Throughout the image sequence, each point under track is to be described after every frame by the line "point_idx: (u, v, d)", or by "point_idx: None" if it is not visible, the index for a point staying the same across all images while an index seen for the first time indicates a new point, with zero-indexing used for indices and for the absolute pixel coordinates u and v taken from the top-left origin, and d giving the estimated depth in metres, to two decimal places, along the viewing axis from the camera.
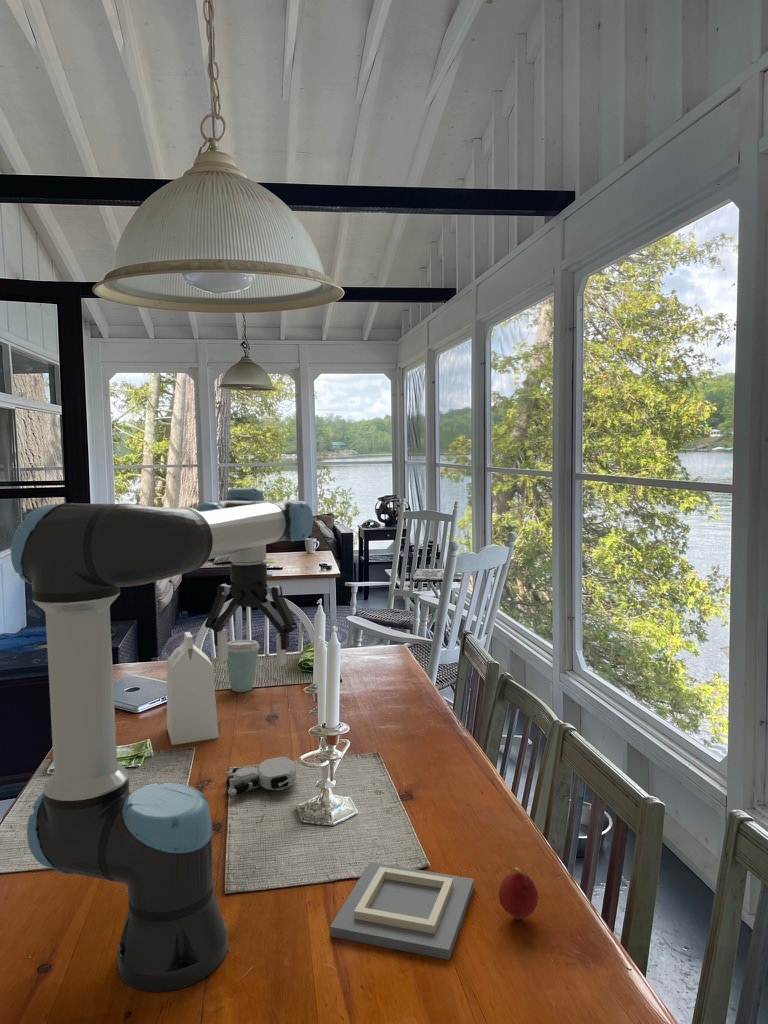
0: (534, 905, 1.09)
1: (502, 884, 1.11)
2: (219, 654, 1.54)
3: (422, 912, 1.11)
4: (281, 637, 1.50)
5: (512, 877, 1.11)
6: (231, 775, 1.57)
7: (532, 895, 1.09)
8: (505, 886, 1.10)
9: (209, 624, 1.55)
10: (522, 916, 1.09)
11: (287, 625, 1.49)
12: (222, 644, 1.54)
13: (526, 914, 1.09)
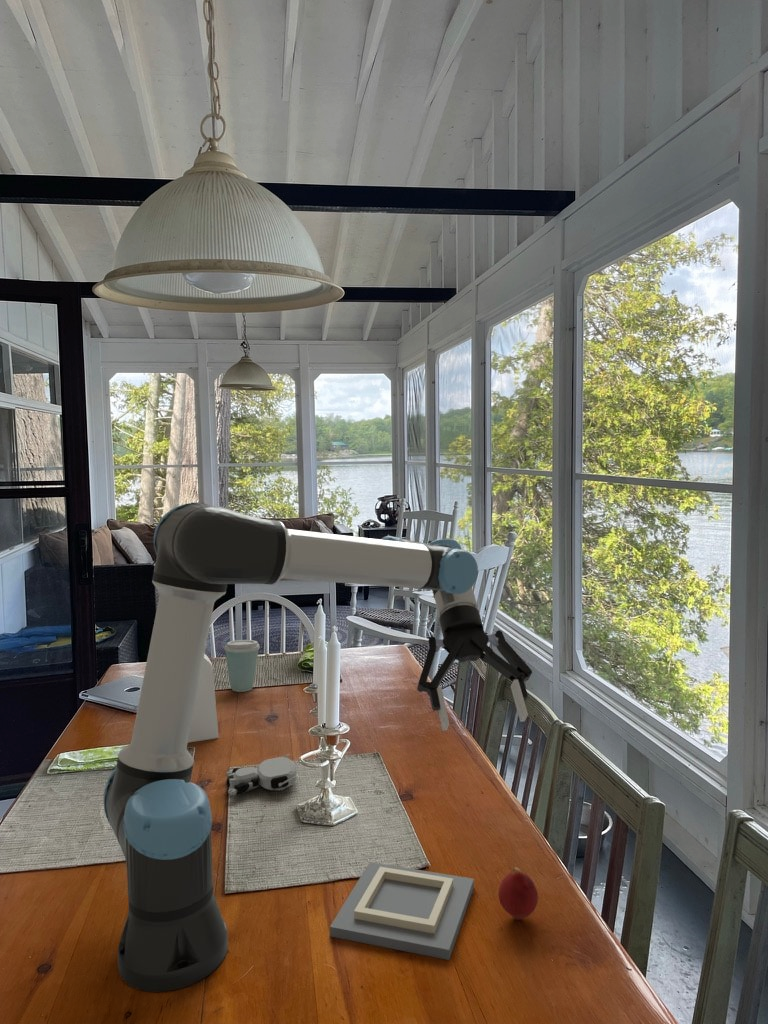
0: (534, 905, 1.09)
1: (502, 884, 1.11)
2: (444, 714, 1.22)
3: (422, 912, 1.11)
4: (519, 683, 1.27)
5: (512, 877, 1.11)
6: (231, 775, 1.57)
7: (532, 895, 1.09)
8: (505, 886, 1.10)
9: (424, 681, 1.25)
10: (522, 916, 1.09)
11: (525, 667, 1.29)
12: None
13: (526, 914, 1.09)
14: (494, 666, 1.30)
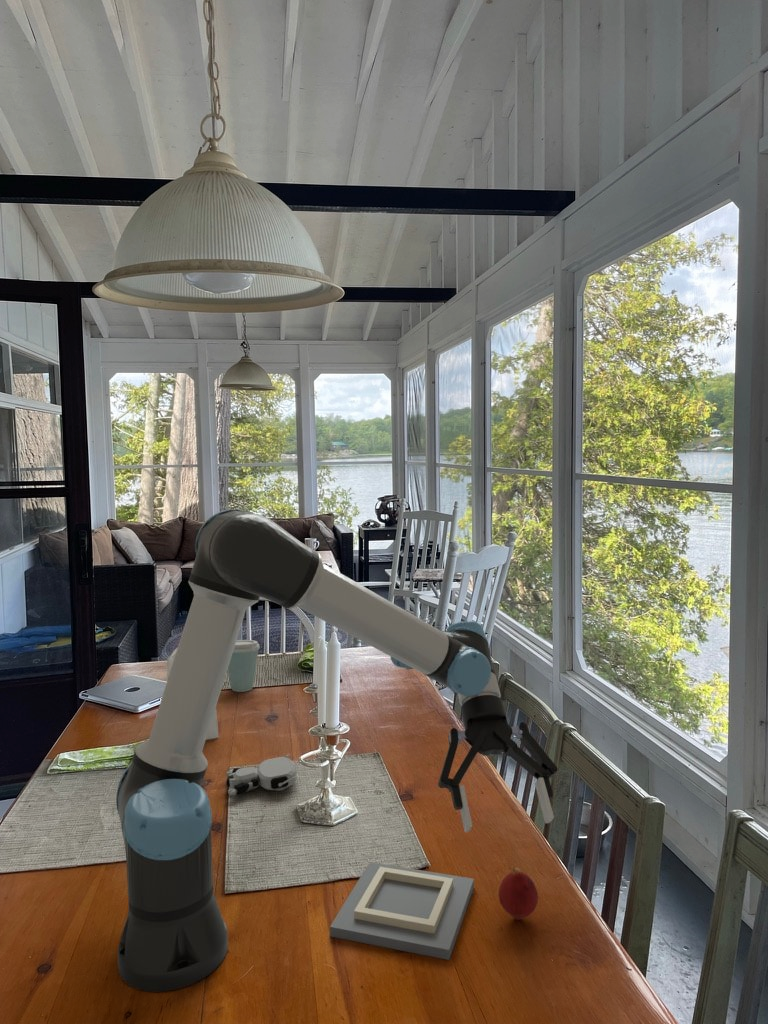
0: (534, 905, 1.09)
1: (502, 884, 1.11)
2: (467, 815, 1.17)
3: (422, 912, 1.11)
4: (544, 782, 1.22)
5: (512, 877, 1.11)
6: (231, 775, 1.57)
7: (532, 895, 1.09)
8: (505, 886, 1.10)
9: (446, 777, 1.20)
10: (522, 916, 1.09)
11: (550, 764, 1.24)
12: None
13: (526, 914, 1.09)
14: (517, 761, 1.26)
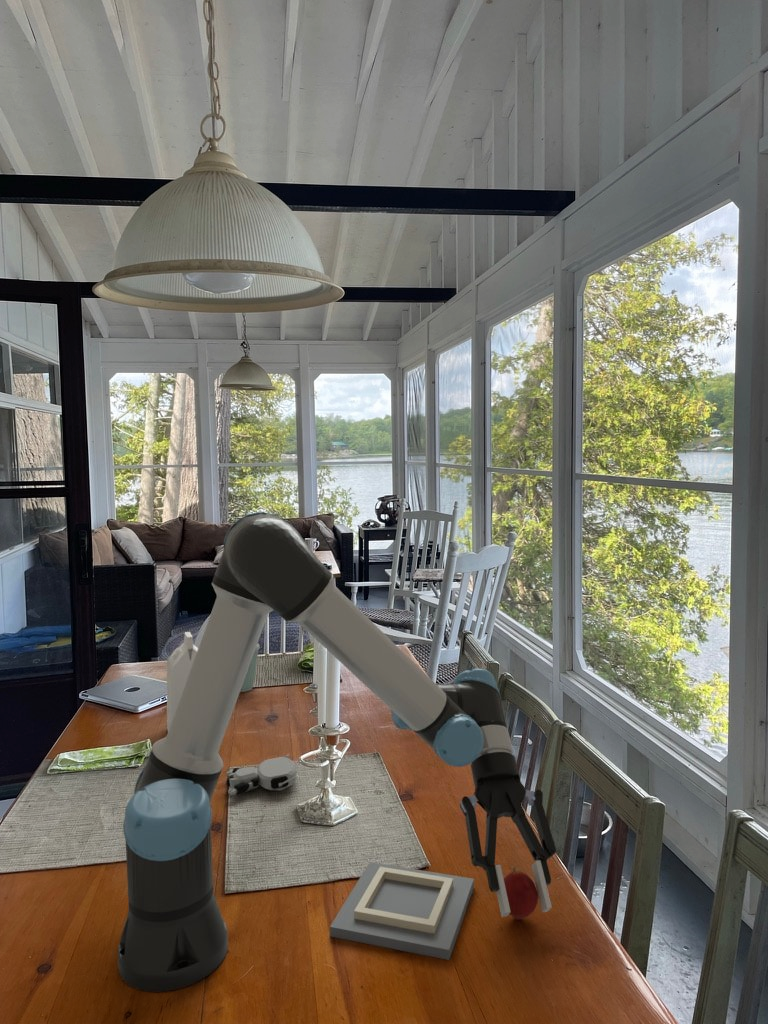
0: (534, 905, 1.09)
1: None
2: (504, 899, 1.07)
3: (422, 912, 1.11)
4: (541, 865, 1.12)
5: (512, 877, 1.11)
6: (231, 775, 1.57)
7: (533, 895, 1.09)
8: (505, 886, 1.10)
9: (480, 854, 1.11)
10: (522, 916, 1.09)
11: (550, 843, 1.13)
12: None
13: (526, 914, 1.09)
14: (520, 831, 1.16)
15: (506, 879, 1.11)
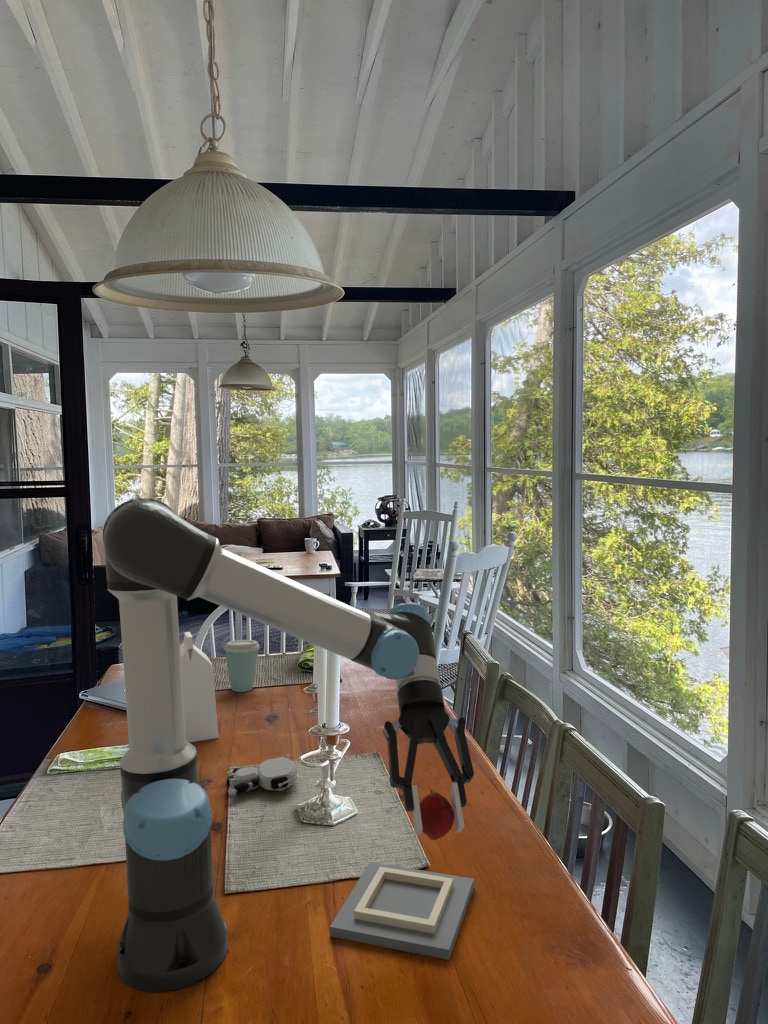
0: (449, 825, 1.11)
1: None
2: (418, 817, 1.08)
3: (422, 912, 1.11)
4: (458, 787, 1.13)
5: (428, 798, 1.12)
6: (231, 775, 1.57)
7: (447, 815, 1.10)
8: (421, 806, 1.12)
9: (397, 775, 1.12)
10: (437, 835, 1.10)
11: (468, 767, 1.14)
12: None
13: (440, 833, 1.10)
14: (441, 756, 1.17)
15: (423, 800, 1.12)
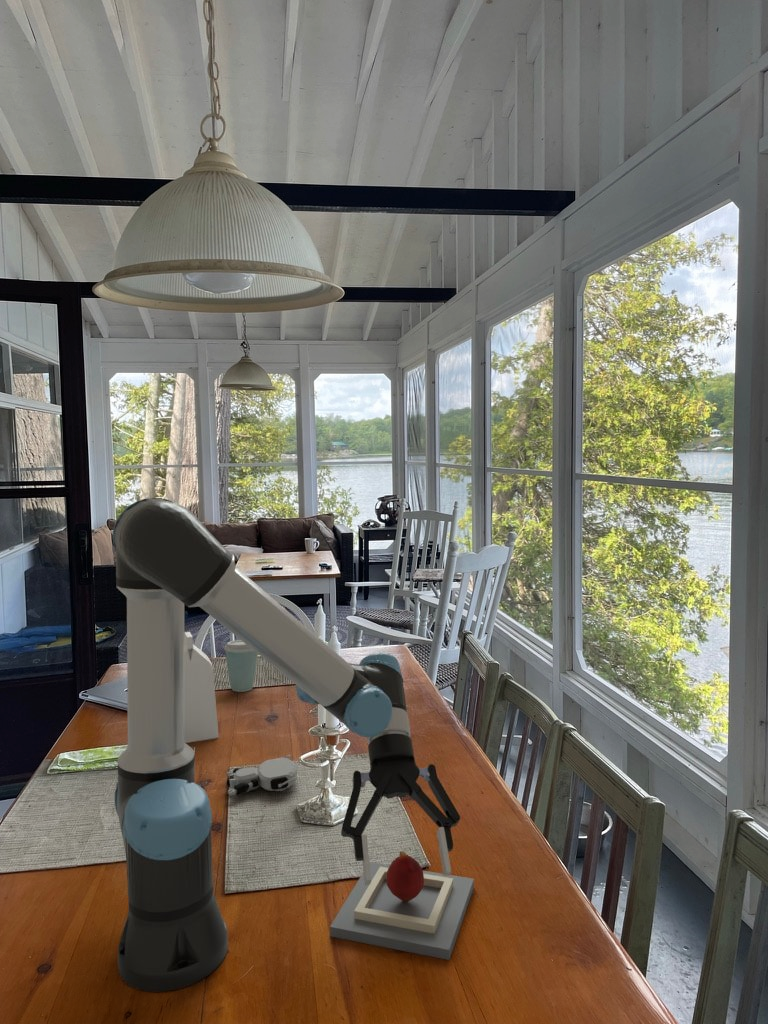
0: (419, 887, 1.12)
1: (389, 867, 1.14)
2: (367, 867, 1.10)
3: (422, 912, 1.11)
4: (444, 831, 1.15)
5: (398, 861, 1.13)
6: (231, 775, 1.57)
7: (417, 877, 1.12)
8: (391, 869, 1.13)
9: (348, 826, 1.14)
10: (407, 898, 1.12)
11: (453, 811, 1.17)
12: None
13: (411, 896, 1.11)
14: (421, 806, 1.19)
15: (393, 863, 1.14)
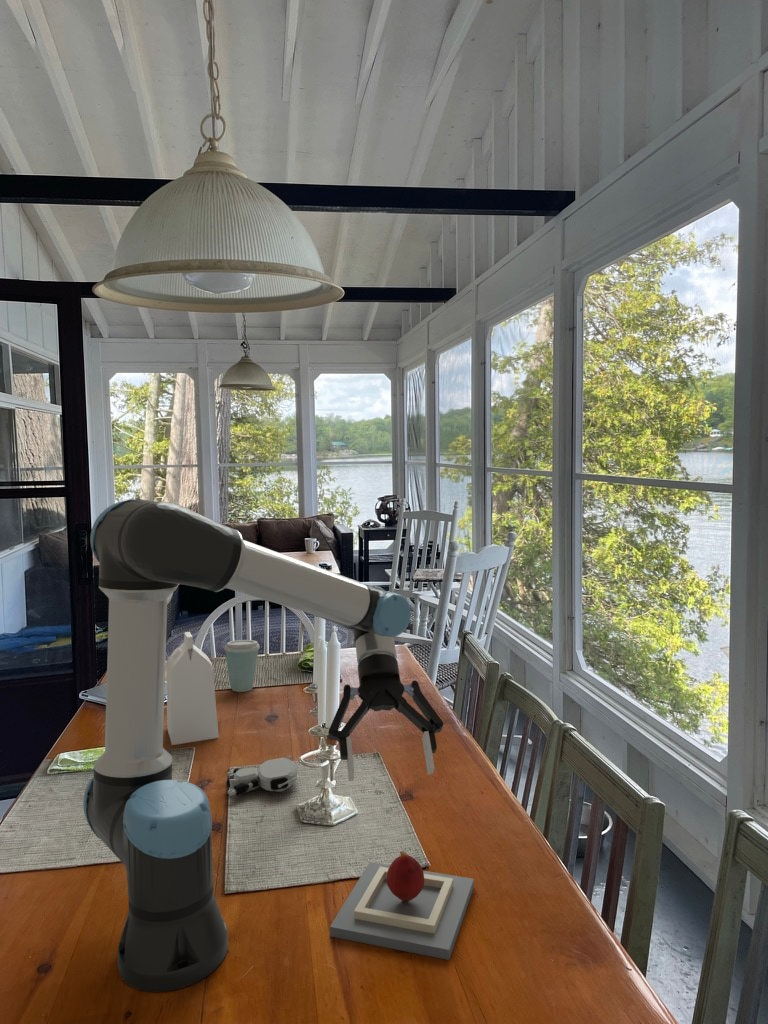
0: (419, 887, 1.12)
1: (389, 867, 1.14)
2: (350, 764, 1.22)
3: (422, 912, 1.11)
4: (429, 735, 1.28)
5: (398, 860, 1.13)
6: (232, 775, 1.57)
7: (417, 877, 1.12)
8: (391, 869, 1.13)
9: (334, 729, 1.26)
10: (407, 898, 1.12)
11: (436, 719, 1.29)
12: None
13: (411, 896, 1.11)
14: (407, 716, 1.31)
15: (393, 862, 1.14)
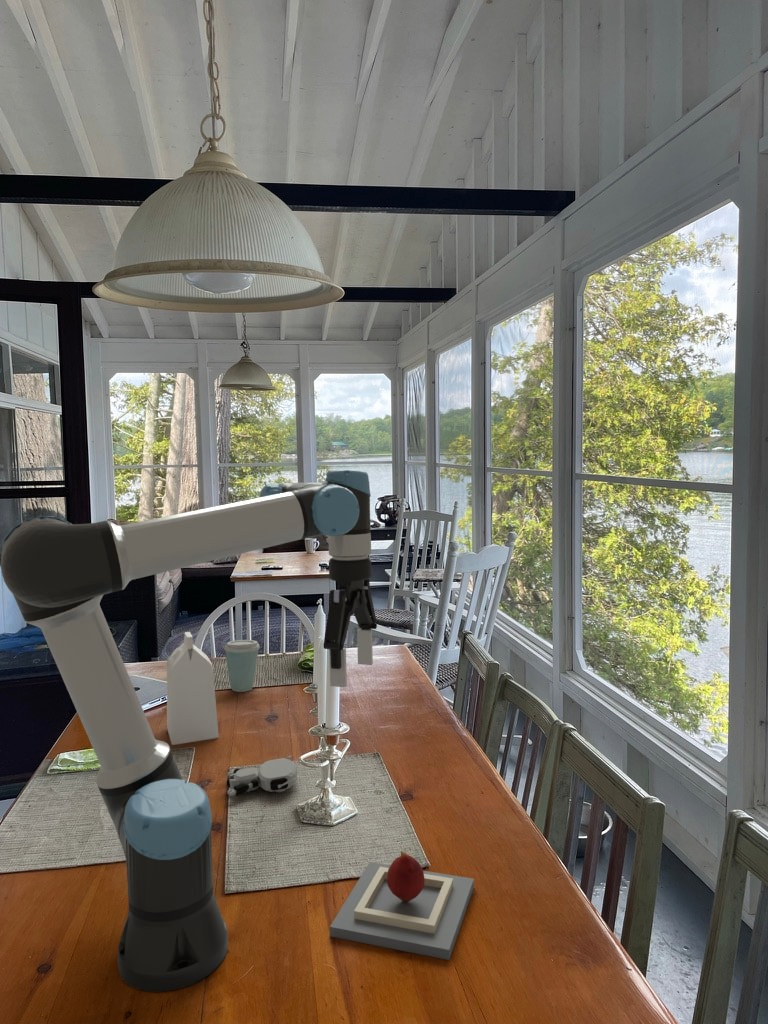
0: (419, 888, 1.12)
1: (390, 867, 1.14)
2: (345, 676, 1.24)
3: (422, 912, 1.11)
4: None
5: (398, 860, 1.13)
6: (232, 776, 1.57)
7: (417, 878, 1.12)
8: (391, 869, 1.13)
9: (339, 643, 1.22)
10: (407, 898, 1.12)
11: (374, 616, 1.39)
12: None
13: (411, 896, 1.11)
14: (355, 612, 1.35)
15: (393, 862, 1.14)
